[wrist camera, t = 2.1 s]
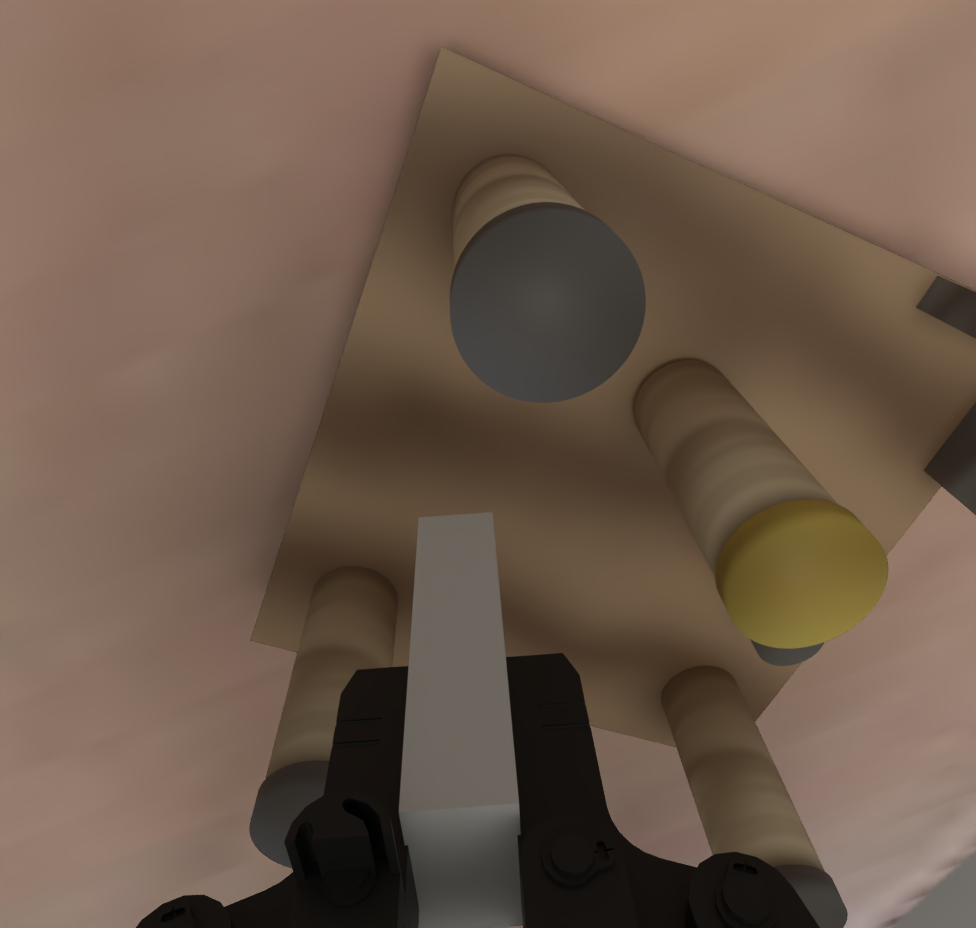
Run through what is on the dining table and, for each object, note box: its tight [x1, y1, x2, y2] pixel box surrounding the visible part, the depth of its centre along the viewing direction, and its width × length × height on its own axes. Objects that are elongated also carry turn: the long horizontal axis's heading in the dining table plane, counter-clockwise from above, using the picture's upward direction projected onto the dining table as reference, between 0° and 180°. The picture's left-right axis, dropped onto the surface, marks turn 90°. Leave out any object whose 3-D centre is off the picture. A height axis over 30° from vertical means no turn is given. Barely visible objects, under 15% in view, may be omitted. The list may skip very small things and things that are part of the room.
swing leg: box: [634, 360, 888, 666], centre depth 20 cm, size 12×3×9 cm, turn 28°
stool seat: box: [250, 47, 976, 928], centre depth 21 cm, size 20×20×11 cm
